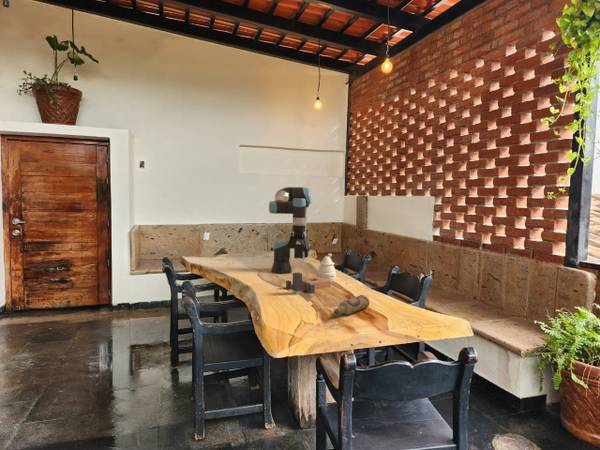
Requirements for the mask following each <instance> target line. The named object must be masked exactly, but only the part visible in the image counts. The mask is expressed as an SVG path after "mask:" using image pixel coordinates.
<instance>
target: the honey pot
mask: <svg viewBox="0 0 600 450" xmlns="http://www.w3.org/2000/svg"><path fill="white" fill-rule="evenodd" d="M332 256H333V254H332V253H328V254H327V255H325V256H324V257H323V258H322V259H321V261H320V263H319V264H320V265H319V266H318V270H317V275H316V276H318V277H321V278H324V279H327V280H330V281H331V283H333V282H332V281H334V282H336V281H337V271H336V269H335V266H334V265H335V262H333V261H332V258H331V257H332ZM335 280H336V281H335Z"/></svg>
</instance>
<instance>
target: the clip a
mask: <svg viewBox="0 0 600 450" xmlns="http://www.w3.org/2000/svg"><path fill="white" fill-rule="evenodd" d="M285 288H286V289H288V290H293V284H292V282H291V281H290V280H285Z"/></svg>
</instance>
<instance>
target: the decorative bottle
mask: <svg viewBox="0 0 600 450" xmlns="http://www.w3.org/2000/svg"><path fill="white" fill-rule="evenodd" d="M369 306H370V299H369V297H368V296H366V295H364V294H360V295H357V296H355V297H351V298H349V299H347V300H343V301H342V302H340V303H339V305H338V307H337V308H335V309H334V310H333V314H334V315H344V316H348V315H351V314H353V313H356V312H358V311H361V310H363V309H367V308H368V307H369Z"/></svg>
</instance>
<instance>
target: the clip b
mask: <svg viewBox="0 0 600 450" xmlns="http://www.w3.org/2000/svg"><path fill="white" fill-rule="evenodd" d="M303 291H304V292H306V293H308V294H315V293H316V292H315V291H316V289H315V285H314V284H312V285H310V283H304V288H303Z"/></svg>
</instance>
